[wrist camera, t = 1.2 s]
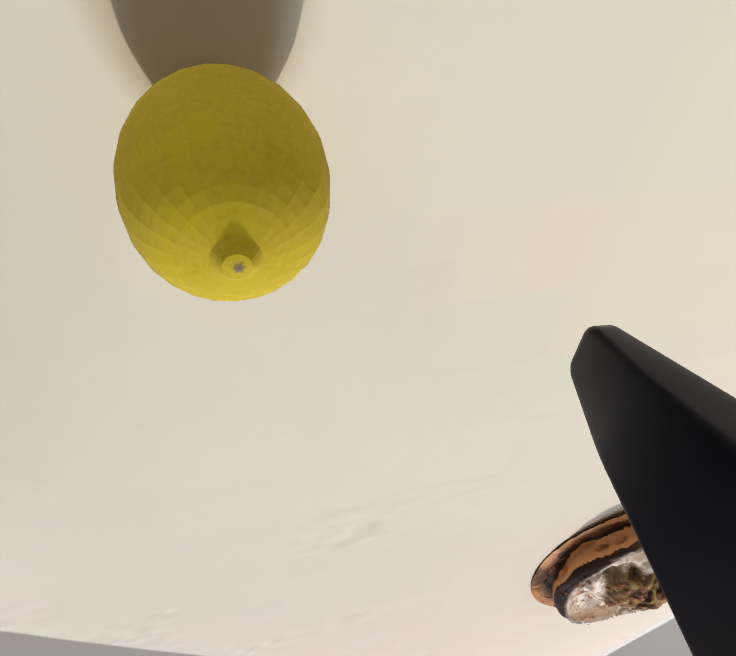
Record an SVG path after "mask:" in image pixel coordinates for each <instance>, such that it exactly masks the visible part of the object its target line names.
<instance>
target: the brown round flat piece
mask: <svg viewBox="0 0 736 656" xmlns="http://www.w3.org/2000/svg"><path fill="white" fill-rule="evenodd" d="M625 513H626V512H625ZM619 516H620V515H619ZM531 583H532V584H531V591H532V594H533V596H534V597H535V598H536V599H537V600H538V601H539V602H541V603H543V604H545V605H548V606H554V607H556V608H557V610H558V611H559V613H560V614H561V615H562V616H563V617H565V618H567V619H568V620H569V621H571V622H572V623H577V624H581V623H582V622H584V623H591V622H596V621H604V620H606V619H609V618H610V617H611V618H613V616H614V614H615V616H618V615H623V614H628V613H634V612H635V613H636V611H639V610H640V611H645V610H649V609H658V608H659V607H660V606H661V605H662V604H664V603H666V602H667V600H666V597H665V595H664V593H663V591H662V589H661V587H660V585H659V583H658V580H657V578H656V576H655V574H654V572H653V570H652V568H651V566H650V563H649V561H648V559H647V557H646V555H645V553H644V551H643V549H642V546H641V544H640V542H639V540H638V538H637V536H636V534H635V532H634V529H633V527H632V525H631V523H630V521H629V519H628V517H627V515H625V514H624V515H622V516H620V517H617V518H613V519H612V520H608V521H607V522H605V523H604V524H601V525H598V526H595V527H594V528H592V529H590V530H588V531H585V532H583V533H582V534H579V535H578V536H577V537H575V538H572V539H570V540H569V541H567V542H566V543H565V544H564V545H562V546H561V547H560V548H559V549H558V550H555V551H554V552H553V553H552V554H550V556H549V557H547V558H546V560H544V561H543V563H542V564H541V566H540V567H539V569H538V571H537V572H536V574H535V575H534V578H533V579H532V582H531Z"/></svg>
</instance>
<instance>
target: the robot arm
mask: <svg viewBox="0 0 736 656" xmlns="http://www.w3.org/2000/svg"><path fill="white" fill-rule="evenodd" d="M571 377H572V380H573V383H574V386H575V389H576V391H577V394H578V397H579V400H580V403H581V406H582V409H583V412H584V415H585V417H586V420H587V423H588V426H589V429H590V432H591V435H592V438H593V440H594V443H595V446H596V449H597V451H598V454H599V456H600V459H601V461H602V463H603V465H604V468H605V470H606V472H607V474H608V476H609V478H610V481H611V483H612V485H613V487H614V489H615V491H616V493H617V495H618V498H619V500H620V502H621V504H622V506H623V508H624V510H625V512H626V515H627V517H628V519H629V521H630V523H631V525H632V527H633V529H634V532H635V534H636V536H637V538H638V540H639V542H640V544H641V546H642V549H643V551H644V553H645V555H646V557H647V559H648V561H649V563H650V566H651V568H652V570H653V572H654V574H655V576H656V578H657V580H658V583H659V585H660V587H661V589H662V591H663V593H664V595H665V597H666V600H667V602H668V604H669V606H670V608H671V610H672V612H673V614H674V617H675V619H676V621H677V623H678V625H679V627H680V629H681V631H682V634H683V636H684V638H685V640H686V642H687V644H688V646H689V648H690V650H691V653H692V655H693V656H736V398H734V397H733V396H731V395H729V394H728V393H726V392H724V391H723V390H721V389H719V388H718V387H716V386H714V385H713V384H711V383H709V382H708V381H706V380H704V379H703V378H701V377H699V376H698V375H696V374H694V373H693V372H691V371H689V370H688V369H686V368H684V367H683V366H681V365H679V364H678V363H676V362H674V361H673V360H671V359H669V358H668V357H666V356H664V355H663V354H661V353H659V352H658V351H656V350H654V349H653V348H651V347H649V346H648V345H646V344H644V343H643V342H641V341H639V340H638V339H636V338H634V337H633V336H631V335H629V334H628V333H626V332H624V331H623V330H621V329H619V328H618V327H616V326H613V325H602V326H592V327H589V328H588V329H587V330H586V331H585V333H584V334H583V337H582V339H581V341H580V343H579V346H578V348H577V350H576V352H575V355H574V357H573V359H572V362H571Z"/></svg>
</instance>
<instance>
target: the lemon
mask: <svg viewBox="0 0 736 656" xmlns="http://www.w3.org/2000/svg"><path fill="white" fill-rule="evenodd" d="M114 182H115V192H116V200H117V205H118V209H119V212H120V215H121V217H122V220H123V222H124V225H125V227H126V230H127V232H128V235H129V237H130V239H131V242H132V243H133V245H134V247H135V248H136V250H137V251H138V252H139V254H140V255H141V256H142V257H143V259H144V260H145V261H146V263H147V264H148V265H149V266H150V267H151V269H152V270H153V271H154V272H156V273H157V274H158V275H160V276H161V277H162V278H163V279H165V280H166V281H167V282H169V283H170V284H171V285H173V286H175V287H177V288H179V289H181V290H183V291H185V292H187V293H189V294H191V295H194V296H197V297H201V298H206V299H210V300H214V301H240V300H246V299H252V298H257V297H259V296H262V295H265V294H268V293H270V292H273V291H275V290H277V289H278V288H280V287H281V286H283V285H285V284H286V283H288V282H289V281H291V280H292V279H293V278H294V277H295V276H296V275H297V274H298V273H299V272H300V271H301V270H302V269H303V268H304V267H305V266H306V265H307V264H308V263H309V261H310V260H311V258H312V256H313V255H314V253H315V251H316V250H317V248H318V246H319V244H320V242H321V240H322V237H323V233H324V230H325V226H326V223H327V219H328V215H329V207H330V174H329V167H328V164H327V160H326V157H325V153H324V150H323V146H322V142H321V139H320V137H319V134H318V132H317V131H316V129H315V127H314V126H313V124H312V123H311V121H310V119H309V118H308V116H307V114H306V113H305V111H304V110H303V108H302V107H301V106H300V105H299V104H298V103H297V102H296V101H295V100H294V99H293V98H292V97H291V96H290V95H289V94H288V93H287V92H286V91H285V90H284V89H283V88H282V87H281V86H280V85H278V84H276V83H275V82H273V81H271V80H269V79H268V78H266V77H264V76H262V75H261V74H259V73H257V72H255V71H253V70H249V69H246V68H242V67H238V66H235V65H231V64H200V65H196V66H192V67H187V68H183V69H179V70H177V71H176V72H174V73H172V74H170V75H168V76H166V77H165V78H163V79H161V80H159V81H157V82H156V83H155V84H154V85H153V86H152V87H151V88H150V89H149V90H148V91H147V92H146V93H145V94H144V95H143V96H142V97H141V98H140V99H139V100H138V101H137V102H136V103H135V105H134V107H133V108H132V110H131V112H130V114H129V116H128V117H127V119H126V121H125V123H124V125H123V126H122V129H121V131H120V134H119V139H118V144H117V149H116V154H115V159H114Z"/></svg>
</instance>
